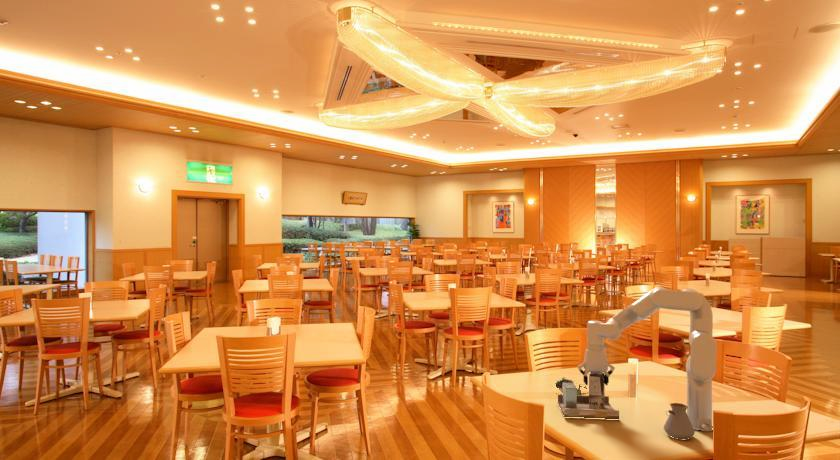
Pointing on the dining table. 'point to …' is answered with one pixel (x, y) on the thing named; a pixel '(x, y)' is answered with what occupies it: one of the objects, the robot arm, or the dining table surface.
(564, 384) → the tea tin
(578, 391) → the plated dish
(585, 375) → the robot arm
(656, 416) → the dining table surface
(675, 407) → the coffee pot
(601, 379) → the coffee box
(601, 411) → the flat grey tray
